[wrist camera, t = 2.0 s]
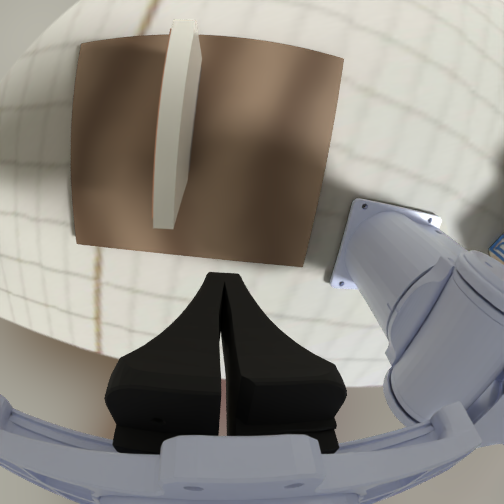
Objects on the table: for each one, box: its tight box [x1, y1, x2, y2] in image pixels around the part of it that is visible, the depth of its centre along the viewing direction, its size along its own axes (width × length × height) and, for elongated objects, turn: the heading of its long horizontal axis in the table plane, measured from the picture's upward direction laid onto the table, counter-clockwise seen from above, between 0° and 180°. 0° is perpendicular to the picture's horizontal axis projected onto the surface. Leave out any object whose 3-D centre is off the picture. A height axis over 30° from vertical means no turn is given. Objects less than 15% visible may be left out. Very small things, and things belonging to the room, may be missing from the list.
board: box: [71, 35, 344, 267], centre depth 18 cm, size 18×16×2 cm
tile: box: [152, 19, 202, 229], centre depth 12 cm, size 8×8×1 cm
